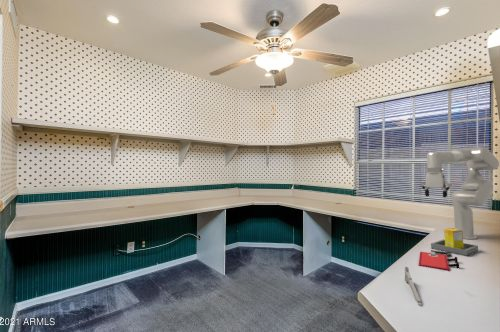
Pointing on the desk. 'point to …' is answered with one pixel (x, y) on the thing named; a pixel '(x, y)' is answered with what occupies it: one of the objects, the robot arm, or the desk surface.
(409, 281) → the caliper
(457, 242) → the supplement box
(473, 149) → the robot arm
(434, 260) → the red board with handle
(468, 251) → the tray
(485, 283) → the desk surface
